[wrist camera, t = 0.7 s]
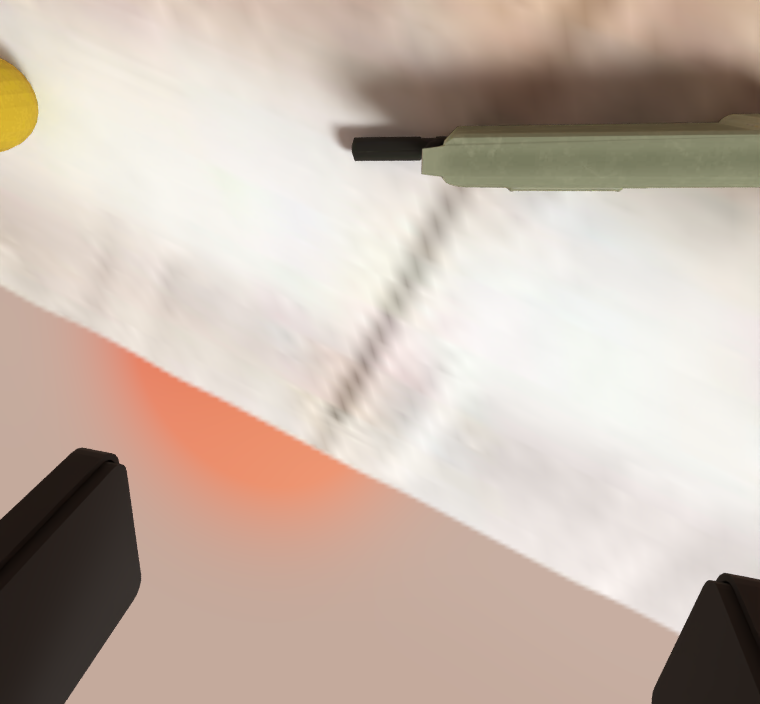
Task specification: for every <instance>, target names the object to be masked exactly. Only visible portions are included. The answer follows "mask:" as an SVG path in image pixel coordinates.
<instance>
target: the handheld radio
mask: <svg viewBox="0 0 760 704" xmlns="http://www.w3.org/2000/svg"><path fill="white" fill-rule="evenodd" d="M352 154H353V157H354V160H355V161H414V160H421V159H422V174H425V175H433V176H440V177H442V178H443V180H444V181H445V182H446V183H448V184H450V185H454V186H458V187H492V188H507V189H508V190H509V191H617V192H619V191H620V190H622V189H623V188H717V187H760V114H731V115H729V116H726V117H724V118H722V120H721V121H720V122H712V123H643V124H574V125H505V126H460V127H459V126H458V127H457V128H456V129H455V130H454V131H453V132H452V133H451V134H450V135H449V136H448V137H436V138H421V137H365V138H354V140H353V144H352Z"/></svg>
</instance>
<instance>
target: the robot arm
mask: <svg viewBox="0 0 760 704" xmlns="http://www.w3.org/2000/svg"><path fill="white" fill-rule="evenodd" d="M140 583H141V572H140V564H139V557H138V550H137V542H136V535H135V528H134V521H133V513H132V506H131V499H130V492H129V484H128V478H127V471H126V467H125V466H124V465H122V464H119V460H118V458H117V456H116V455H115V454H112V453H107V452H102V451H97V450H92V449H87V448H78V449H76V450H75V451H73V452H72V453H71V454H70V455H69V456H68V457H67V458H66V459H65V460H63V461H62V462H61V463H60V464H59V465H58V466H57V467H56V468H55V469H54V470H53V471H52V472H51V473H50V474H49V475H48V476H47V477H46V478H44V479H43V480H42V481H41V482H40V483H39V484H38V485H37V486H36V487H35V488H34V489H33V490H32V491H30V492H29V493H28V494H27V495H26V496H25V497H24V498H23V499H22V500H21V501H20V502H19V503H18V504H17V505H16V506H15V507H13V508H12V510H10V511H9V512H8V513H7V514H6V515H5V516H4V517H3V518H2V519H1V520H0V704H64V703H65V702H66V700H67V699H68V697H69V696H70V694H71V693H72V691H73V690H74V688H75V687H76V685H77V684H78V682H79V681H80V679H81V678H82V676H83V675H84V673H85V672H86V670H87V669H88V667H89V666H90V664H91V663H92V661H93V660H94V658H95V657H96V655H97V654H98V652H99V651H100V650H101V648H102V646H103V645H104V643H105V642H106V640H107V639H108V638H109V636H110V635H111V633H112V632H113V630H114V629H115V627H116V626H117V624H118V623H119V621H120V620H121V618H122V617H123V615H124V614H125V612H126V611H127V609H128V608H129V606H130V605H131V603H132V602H133V600H134V598H135V597H136V595H137V593H138V590H139V587H140ZM652 704H760V580H759V579H754V578H749V577H744V576H739V575H733V574H728V573H723V574H721V575H720V576H719V577H718V578H717V580H716V581H712V580H708V581H707V582H706V583H705V584H704V586H703V588H702V590H701V592H700V594H699V596H698V598H697V600H696V602H695V605H694V607H693V609H692V611H691V613H690V615H689V617H688V619H687V621H686V623H685V625H684V627H683V629H682V631H681V634H680V636H679V638H678V640H677V642H676V644H675V646H674V648H673V650H672V652H671V655H670V656H669V658H668V661H667V663H666V665H665V667H664V669H663V671H662V673H661V675H660V677H659V679H658V681H657V683H656V685H655V687H654V690H653V695H652Z"/></svg>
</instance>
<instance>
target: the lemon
mask: <svg viewBox="0 0 760 704" xmlns="http://www.w3.org/2000/svg"><path fill="white" fill-rule="evenodd" d="M37 118H38V102H37V99H36V95H35V93H34V91H33V89H32V87H31V85H30V83H29V82H28V81H27V79H26V78H25V77H24V75H23V74H22V73H21V72H20V71H19V70H17V69H16V68H15V67H14V66H13V65H12V64H10V63H8V62H7V61H5V60H3V59H1V58H0V152H2V151H6V150H9V149H11V148H13V147H15V146H17V145H19V144H21V143H22V142H23V141H25V139H26V138H27V137H28V136H29V135H30V134H31V133H32V131H33V129H34V127H35V125H36V123H37Z"/></svg>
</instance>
